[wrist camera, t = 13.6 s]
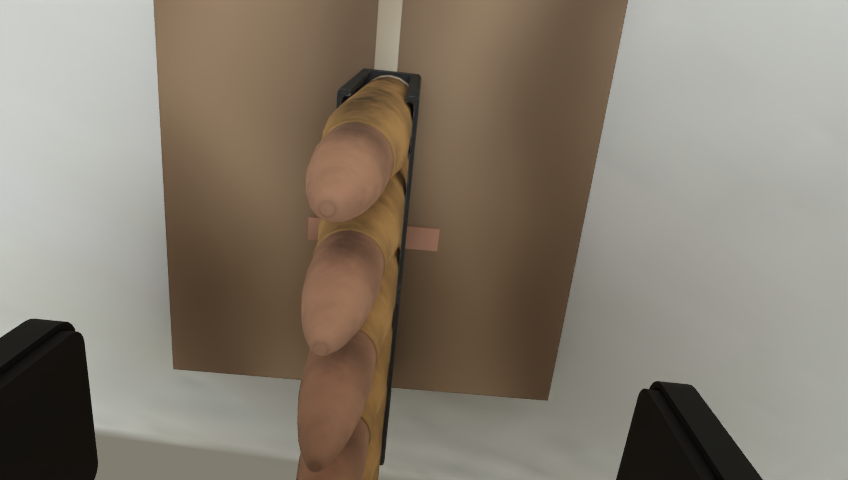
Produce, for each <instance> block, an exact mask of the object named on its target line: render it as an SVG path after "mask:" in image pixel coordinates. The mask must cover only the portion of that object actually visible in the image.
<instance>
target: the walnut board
mask: <svg viewBox="0 0 848 480" xmlns="http://www.w3.org/2000/svg"><path fill="white" fill-rule="evenodd" d="M627 3H628V0H154V17H155V35H156V54H157V73H158V91H159V110H160V128H161V147H162V165H163V184H164V202H165V221H166V240H167V258H168V277H169V295H170V314H171V332H172V351H173V369H179V370H191V371H203V372H215V373H227V374H238V375H250V376H262V377H274V378H286V379H298V380H301V379H302V374H303V370H304V366H305V363H306V360H307V357H308V354H309V345H308V344H307V341H306V339H305V336H304V333H303V329H302V319H301V304H302V290H303V285H304V281H305V277H306V273H307V270H308V268H309V266H310V263H311V261H312V259H313V253H314V250H315V248H316V245H317V242H318V227H319V222H320V220H321V218H319V217H318V216H317V215H316V214H315V213H314V212H313V210H312V209H311V208H310V205H309V202H308V199H307V195H306V170H307V167H308V165H309V162H310V160H311V157H312V155H313V153H314V150H315V148H316V146H317V145H318V144H319V143H320V142H321V139H322V136H323V130H324V127H325V125H326V123H327V120H328V118H329V117H330V115H331V114H332V113H333V112H334V111H335V110H336V104H337V92H338V89H340V88H341V87H342V86H343V85H344V84H346V83H347V82H348V81H349V80H350V79H352V78H353V77H354V76H355V75H356V74H358V73H359V72H360V71H361V70H362V69H364V68H367V69H376V70H385V71H395V72H404V73H413V74H419V75H420V76H421V88H420V101H419V111H418V122H417V132H416V142H415V152H414V162H413V173H412V183H411V193H410V203H409V213H408V224H407V234H406V244H405V254H404V265H403V275H402V285H401V295H400V305H399V316H398V326H397V336H396V346H395V357H394V367H393V377H392V388H404V389H416V390H428V391H440V392H452V393H464V394H475V395H487V396H499V397H511V398H523V399H535V400H546V401H548V396H549V391H550V386H551V382H552V377H553V372H554V367H555V362H556V357H557V352H558V347H559V342H560V337H561V332H562V327H563V322H564V317H565V312H566V307H567V302H568V297H569V292H570V287H571V282H572V277H573V272H574V267H575V262H576V257H577V252H578V247H579V242H580V237H581V232H582V227H583V222H584V217H585V212H586V207H587V202H588V197H589V192H590V188H591V183H592V178H593V173H594V168H595V163H596V158H597V153H598V148H599V143H600V138H601V133H602V128H603V123H604V118H605V113H606V108H607V103H608V98H609V93H610V88H611V83H612V78H613V73H614V68H615V63H616V58H617V53H618V48H619V43H620V38H621V33H622V28H623V23H624V18H625V13H626V8H627Z"/></svg>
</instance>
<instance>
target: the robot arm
mask: <svg viewBox="0 0 848 480" xmlns="http://www.w3.org/2000/svg"><path fill="white" fill-rule="evenodd" d="M97 468H98V458H97V449H96V441H95V432H94V423H93V414H92V405H91V396H90V388H89V379H88V370H87V361H86V352H85V343H84V338H83V336H82V334H81V333H79V332H75V328H74V327H73V325H72V324H70V323H69V322H62V321H52V320H42V319H29V320H27V321H25V322H23V323H22V324H20V325H19V326H17V327H16V328H14V329H13V330H11V331H10V332H8V333H7V334H5V335H4V336H2V337H1V338H0V480H94V479H95V476H96V473H97ZM616 480H763V479H762V478H761V477H760V475H759V474H758V473H757V471H756V470H755V469H754V467H753V466H752V465H751V463H750V462H749V461H748V459H747V458H746V456H745V455H744V454H743V452H742V451H741V450H740V448H739V447H738V446H737V444H736V443H735V442H734V440H733V439H732V438H731V436H730V435H729V434H728V432H727V431H726V430H725V428H724V427H723V425H722V424H721V423H720V421H719V420H718V419H717V417H716V416H715V415H714V413H713V412H712V411H711V409H710V408H709V407H708V405H707V404H706V403H705V401H704V400H703V398H702V397H701V396H700V394H699V393H698V392H697V390H696V389H695V388H694V387H693V386H692V385H688V384H679V383H669V382H660V381H656V382H654V383H653V384H652V385H651V386H650V389H642V390H641V392H640V393H639V396H638V399H637V403H636V407H635V410H634V414H633V418H632V422H631V426H630V429H629V433H628V437H627V441H626V445H625V448H624V452H623V456H622V460H621V464H620V467H619V471H618V475H617V479H616Z"/></svg>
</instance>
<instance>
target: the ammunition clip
mask: <svg viewBox="0 0 848 480" xmlns="http://www.w3.org/2000/svg"><path fill="white" fill-rule="evenodd" d="M420 88H421V76H420V75H419V74H413V73H404V72H395V71H385V70H376V69H367V68H364V69H362V70H361V71H360V72H359V73H358V74H356V75H355V76H354V77H353V78H352V79H350V80H349V81H348V82H347V83H346V84H344V85H343V86H342V87H341V88H340V89H338V92H337V104H336V110H335V111H334V112H333V113H332V114H331V115H330V117H329V118H328V120H327V123H326V125H325V127H324V130H323V136H322V139H321V142H320V143H319V144H318V145H317V146H316V148H315V150H314V153H313V155H312V157H311V160H310V162H309V165H308V167H307V170H306V195H307V199H308V202H309V205H310V208H311V209H312V210H313V212H314V213H315V214H316V215H317V216H318V217H319V218H321V220H320V222H319V227H318V242H317V245H316V248H315V250H314V253H313V259H312V261H311V263H310V266H309V268H308V270H307V273H306V277H305V281H304V285H303V290H302V304H301V319H302V329H303V333H304V336H305V339H306V341H307V344H308V345H309V354H308V357H307V360H306V363H305V366H304V370H303V374H302V379H301V384H300V390H299V397H298V423H297V424H298V441H299V446H300V451H301V454H300V458H299V464H298V472H297V478H296V480H378V475H379V466H380V465H383V463H384V459H385V449H386V438H387V428H388V418H389V408H390V397H391V387H392V377H393V367H394V357H395V346H396V336H397V326H398V316H399V305H400V295H401V285H402V275H403V265H404V254H405V244H406V234H407V224H408V213H409V203H410V193H411V183H412V173H413V162H414V152H415V142H416V132H417V122H418V111H419V101H420Z"/></svg>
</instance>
